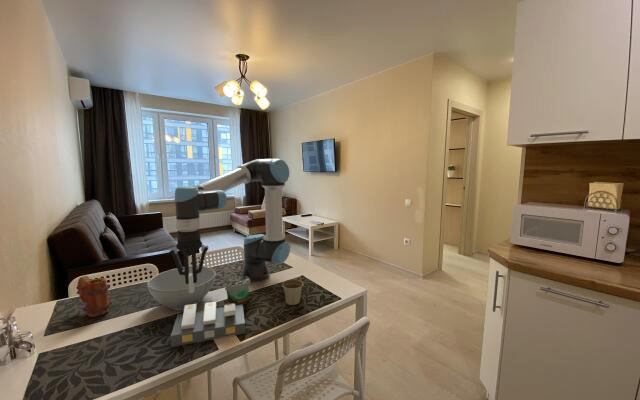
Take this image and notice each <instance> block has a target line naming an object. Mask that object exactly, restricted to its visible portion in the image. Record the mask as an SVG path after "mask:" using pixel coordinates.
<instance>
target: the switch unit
mask: <svg viewBox="0 0 640 400" xmlns="http://www.w3.org/2000/svg"><path fill="white" fill-rule="evenodd" d="M235 308H236V315H230V316H224V307H216V323H213V324H207V325H203V319H204V310H196V317H195V326H194V328H188V329H181V324H182V319H183V313H177V314H176V319H175V321H174V324H173V328H172V331H171V333H170V346H171V348H174V347H179V346H184V345H190V344H194V343H195V344H197V343H201V342H206V340H207V341H211V340H217V339H222V338H227V337H234V336H237V335H242V334H246V321H245V314H244V313H245V312H244V305H243V304H242V305H236V306H235Z"/></svg>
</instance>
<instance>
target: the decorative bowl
mask: <svg viewBox="0 0 640 400" xmlns="http://www.w3.org/2000/svg"><path fill="white" fill-rule="evenodd" d="M182 267H183V270H185V269H184V266H182ZM198 268H199V265H197V269H198ZM189 273H193V270H192V266H191V265H190V266H189ZM216 276H217V272H216V270H214V269H213V268H211V267H207V266H203V267H202V271H201V273H198V274H197V282H196V283H194V293H189V284H186V283H185V276H184V275H180V274H179V272H178V269H177V267H176V268H172V269H168V270H166V271H162V272H160V273H157V274H155V275H154V276H153V277H150V279H149V280H148V281H147V283H146V286H147V290H148V292H149V293H150V294H151V296H152V297H153V298H154V300H155V301H157V302H158V303H159V304H160V305H162V306H165V307H168V308H169V309H170V310H172V311H184V307H185V305H191V304H197V305H198V304H199V303H200V301H201V300H202V299H204V298H205V297H206V296H207V295H208V293H209V292H210V291H211V289H212V287H213V285H214V283H215V281H216Z"/></svg>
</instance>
